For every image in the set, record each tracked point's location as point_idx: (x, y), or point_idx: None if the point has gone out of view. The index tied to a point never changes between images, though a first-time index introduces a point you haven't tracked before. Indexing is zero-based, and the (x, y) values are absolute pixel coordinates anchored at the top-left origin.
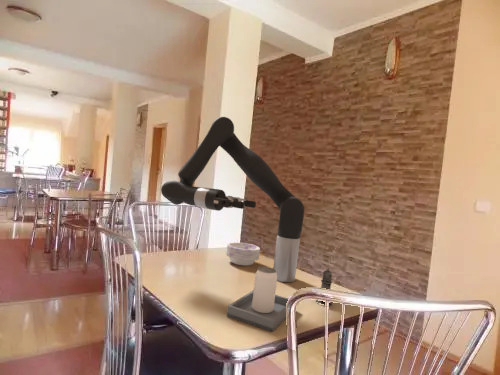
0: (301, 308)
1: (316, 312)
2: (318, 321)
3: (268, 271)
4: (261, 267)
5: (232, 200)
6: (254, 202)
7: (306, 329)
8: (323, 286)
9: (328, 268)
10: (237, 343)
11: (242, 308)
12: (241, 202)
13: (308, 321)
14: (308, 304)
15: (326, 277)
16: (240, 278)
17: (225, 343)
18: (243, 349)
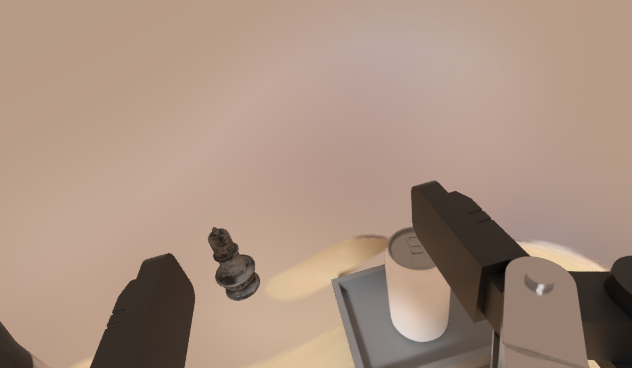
0: (312, 292)
1: (304, 267)
2: (339, 246)
3: (417, 243)
4: (416, 268)
5: (541, 260)
6: (171, 259)
7: (386, 239)
8: (238, 258)
9: (213, 227)
10: (555, 260)
11: (471, 347)
12: (443, 194)
13: (356, 253)
14: (278, 296)
15: (231, 239)
16: None
17: (583, 270)
18: (551, 245)
